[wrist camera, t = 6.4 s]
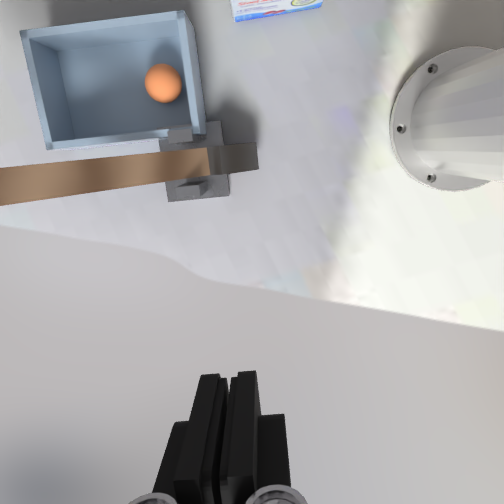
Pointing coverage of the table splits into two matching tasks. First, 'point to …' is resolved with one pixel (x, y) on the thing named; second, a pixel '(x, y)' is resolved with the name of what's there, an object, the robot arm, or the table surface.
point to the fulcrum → (196, 185)
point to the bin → (112, 80)
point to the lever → (121, 172)
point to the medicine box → (268, 7)
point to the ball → (163, 83)
